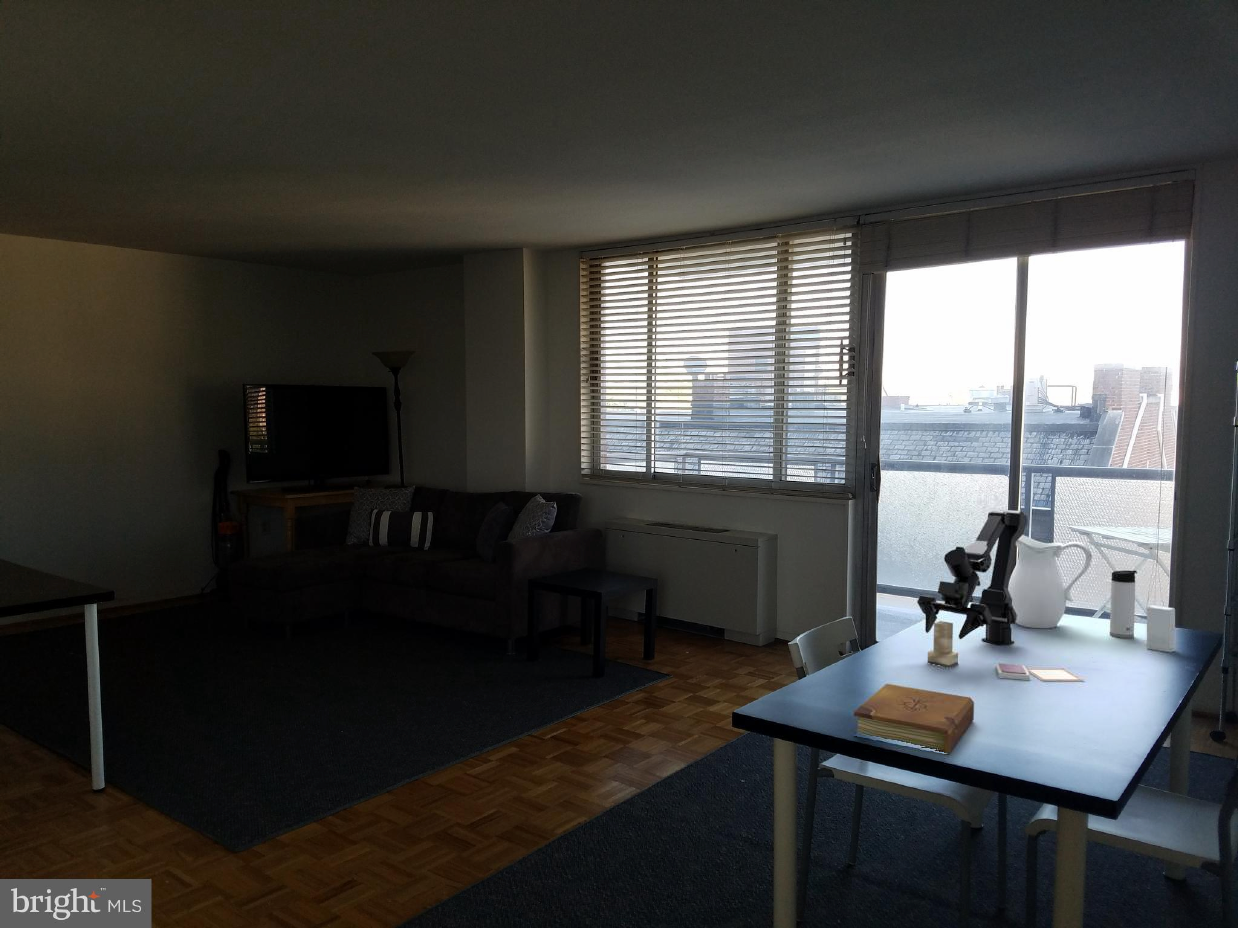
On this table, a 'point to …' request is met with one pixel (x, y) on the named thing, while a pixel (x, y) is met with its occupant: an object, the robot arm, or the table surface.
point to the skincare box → (1161, 628)
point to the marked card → (1053, 674)
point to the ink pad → (1012, 671)
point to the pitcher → (1041, 582)
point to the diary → (916, 716)
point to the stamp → (943, 646)
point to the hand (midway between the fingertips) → (942, 634)
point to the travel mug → (1122, 604)
